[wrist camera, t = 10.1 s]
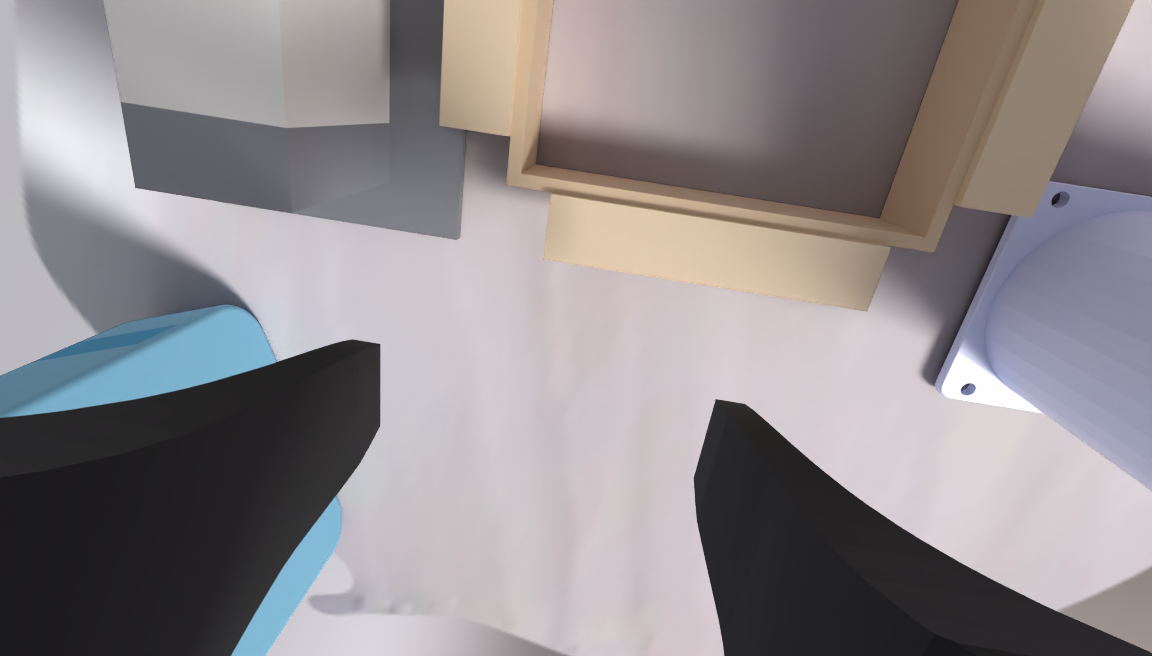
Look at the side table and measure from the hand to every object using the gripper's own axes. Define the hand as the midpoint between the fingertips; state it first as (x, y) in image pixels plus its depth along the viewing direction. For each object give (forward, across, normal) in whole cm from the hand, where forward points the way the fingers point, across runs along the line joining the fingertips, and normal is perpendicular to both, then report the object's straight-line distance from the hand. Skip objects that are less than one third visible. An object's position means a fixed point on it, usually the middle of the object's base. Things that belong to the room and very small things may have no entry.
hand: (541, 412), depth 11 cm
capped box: (+9, +9, -7) cm, 14 cm away
